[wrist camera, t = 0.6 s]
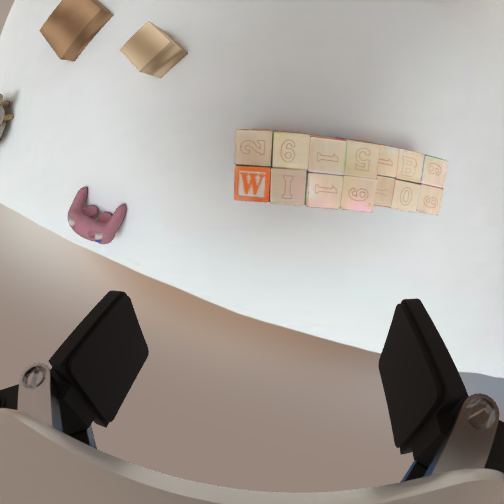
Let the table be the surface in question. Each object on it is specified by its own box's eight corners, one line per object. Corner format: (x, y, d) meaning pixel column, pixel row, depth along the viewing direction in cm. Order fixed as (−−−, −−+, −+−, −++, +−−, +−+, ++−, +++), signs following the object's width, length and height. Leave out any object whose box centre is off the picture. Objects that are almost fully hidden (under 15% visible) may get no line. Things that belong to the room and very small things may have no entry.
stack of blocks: (414, 151, 29) (464, 166, 18) (407, 195, 32) (452, 227, 21) (253, 129, 32) (234, 128, 21) (251, 176, 34) (232, 201, 23)
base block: (87, -9, 22) (74, -14, 18) (115, 15, 25) (100, 9, 21) (53, 32, 25) (39, 30, 22) (76, 61, 29) (60, 59, 25)
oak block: (168, 33, 26) (148, 21, 21) (188, 53, 28) (170, 41, 22) (142, 57, 28) (119, 49, 23) (161, 78, 30) (139, 71, 24)
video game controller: (87, 201, 41) (63, 230, 36) (82, 182, 37) (56, 212, 33) (130, 222, 41) (107, 254, 37) (128, 203, 38) (102, 237, 33)
